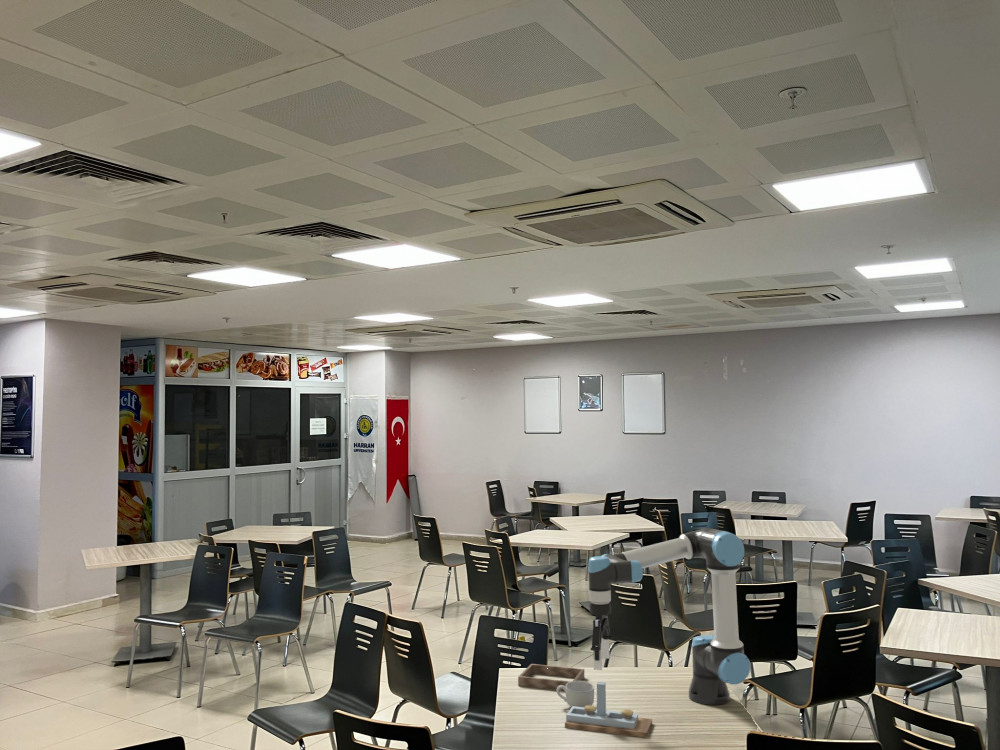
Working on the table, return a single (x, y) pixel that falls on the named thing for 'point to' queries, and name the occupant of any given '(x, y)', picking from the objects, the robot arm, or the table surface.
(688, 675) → the table surface
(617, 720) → the blue post stand
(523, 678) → the open brown wooden frame
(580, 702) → the teacup
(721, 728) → the table surface
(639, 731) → the boss board
